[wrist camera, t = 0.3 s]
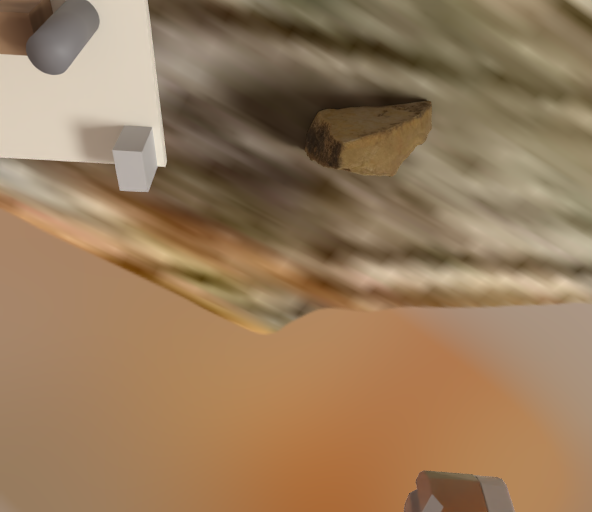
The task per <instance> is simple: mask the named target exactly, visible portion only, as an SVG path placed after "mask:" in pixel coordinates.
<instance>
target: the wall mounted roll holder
mask: <svg viewBox="0 0 592 512" xmlns="http://www.w3.org/2000/svg"><path fill="white" fill-rule="evenodd" d="M50 1H51V6H52V10H53V14H52V15H51V16H50V17H49V18H48V19H47V20H46V22H45V23H44V24H43V25H42V26H41V27H40V28H39V29H38V30H37V31H36V32H35V33H34V34H33V35H32V36H31V37H30V38H29V39H28V41H27V43H26V53H27V56H24V55H7V54H0V157H3V158H20V159H38V160H56V161H73V162H91V163H109V164H115V167H116V173H117V178H118V183H119V188H120V191H137V192H148V191H149V188H150V186H151V183H152V180H153V177H154V175H155V172H156V169H157V166H162V167H165V166H166V163H167V158H166V150H165V142H164V133H163V125H162V116H161V108H160V100H159V91H158V83H157V75H156V66H155V58H154V50H153V41H152V33H151V25H150V16H149V8H148V0H50Z"/></svg>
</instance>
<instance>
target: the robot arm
mask: <svg viewBox="0 0 592 512" xmlns="http://www.w3.org/2000/svg"><path fill="white" fill-rule="evenodd" d="M416 485H417V490H415V491H413V492H411V493H409V495H408V498H407V500H406V503H405V507H404V512H515V511H514V507H513V504H512V501H511V498H510V495H509V492H508V489H507V486H506V484H505V483H504V482H503V480H502V479H500V478H498V477H487V476H476V475H472V474H459V473H447V472H435V471H422V472H420V473H419V475H418V477H417V479H416Z"/></svg>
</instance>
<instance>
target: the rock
mask: <svg viewBox="0 0 592 512" xmlns="http://www.w3.org/2000/svg"><path fill="white" fill-rule="evenodd" d="M431 114H432V105H431V101H422V102H414V103H407V104H400V105H387V106H381V107H369V106H364V107H349V108H342V109H338V110H336V109H324V110H321V111H319V112H318V113H317V115H316V117H315V118H314V120H313V122H312V124H311V126H310V128H309V130H308V133H307V137H306V147H305V152H307V156H309V157H310V160H311V161H312V160H315V161H316V162H317V163H318V164H320V165H321V166H323V167H328V168H334V169H340V170H345V171H348V172H352V173H357V174H361V175H375V176H381V175H385V176H389V177H391V176H394V175H395V174H396V173H397V170H398V168H399V166H400V165H401V163H402V162H403V161H404V160H405V159H406V158H407V157H408V156H409V155H410V153H411V152H412V151H413V150H414V149H415V147H416V146H417V145H421V144H423V143H424V142H425V140H426V138H427V135H428V133H429V132H430V130H431V129H432V125H431Z"/></svg>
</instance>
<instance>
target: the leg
mask: <svg viewBox="0 0 592 512" xmlns="http://www.w3.org/2000/svg"><path fill="white" fill-rule="evenodd" d="M52 14H53V10H52V6H51V1H50V0H0V54H7V55H24V56H27V53H26V43H27V41H28V39H29V38H30V37H31V36H32V35H33V34H34V33H35V32H36V31H37V30H38V29H39V28H40V27H41V26H42V25H43V24H44V23H45V22H46V20H47V19H48V18H49V17H50V16H51V15H52Z"/></svg>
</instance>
